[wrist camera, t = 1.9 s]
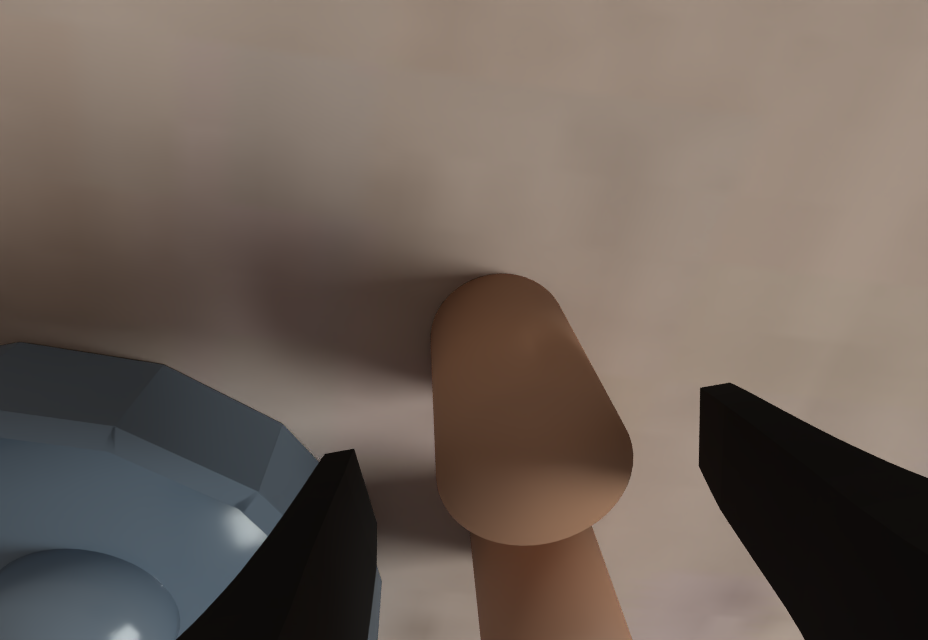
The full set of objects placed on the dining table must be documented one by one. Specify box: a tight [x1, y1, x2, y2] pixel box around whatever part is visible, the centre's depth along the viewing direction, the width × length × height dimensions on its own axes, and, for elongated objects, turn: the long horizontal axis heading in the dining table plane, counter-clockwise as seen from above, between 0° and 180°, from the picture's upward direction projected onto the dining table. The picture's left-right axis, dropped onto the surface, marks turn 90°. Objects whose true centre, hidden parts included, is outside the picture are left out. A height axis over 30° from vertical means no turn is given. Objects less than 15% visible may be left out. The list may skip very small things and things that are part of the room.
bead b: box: [470, 526, 632, 640], centre depth 18 cm, size 4×4×6 cm
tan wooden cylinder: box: [431, 274, 633, 546], centre depth 14 cm, size 4×4×6 cm
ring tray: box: [0, 342, 382, 640], centre depth 19 cm, size 19×19×3 cm
